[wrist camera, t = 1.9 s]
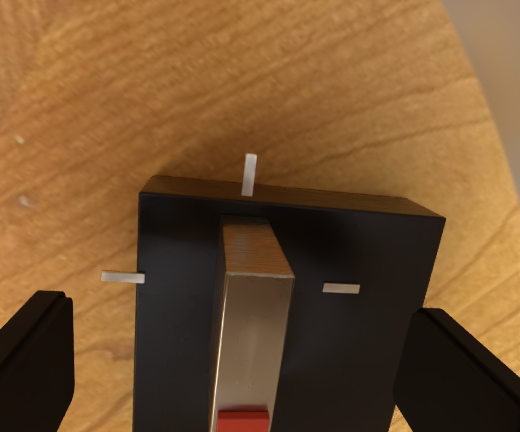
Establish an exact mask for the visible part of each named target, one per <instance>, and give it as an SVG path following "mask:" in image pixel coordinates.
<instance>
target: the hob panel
mask: <svg viewBox="0 0 520 432" xmlns="http://www.w3.org/2000/svg"><path fill="white" fill-rule="evenodd" d="M256 160H257V154H253V153H246V155H245V165H244V174H243V183H234V182H223V181H212V180H201V179H190V178H180V177H169V176H158V175H154V176H152V177H151V179H150V180H149V181H148V182H147V184H146V185H145V186H144V187H143V189H142V190H141V191H140V192H139V203H138V240H137V272H131V271H112V270H102V272H101V281H106V282H127V283H136V314H135V350H134V387H133V424H132V432H208V405H209V337H210V327H211V316H212V305H213V294H214V283H215V273H216V262H217V251H218V240H219V229H220V219H221V215H223V214H224V215H237V216H250V217H262V218H267V219H268V221H269V223H270V225H271V228H272V230H273V232H274V234H275V236H276V238H277V240H278V242H279V244H280V246H281V248H282V250H283V253H284V255H285V257H286V259H287V261H288V263H289V265H290V267H291V269H292V271H293V273H294V276H295V281H294V287H293V293H292V300H291V306H290V312H289V318H288V325H287V331H286V337H285V344H284V350H283V356H282V362H281V369H280V375H279V381H278V387H277V394H276V400H275V406H274V413H273V419H272V425H271V431H270V432H388V431H389V428H390V424H391V420H392V416H393V413H394V409H395V405H396V403H395V401H394V399H393V385H394V382H395V378H396V374H397V370H398V366H399V362H400V358H401V354H402V351H403V347H404V343H405V339H406V335H407V331H408V327H409V323H410V320H411V316H412V314H413V313H415V312H417V310H418V309H419V308H422V306H423V303H424V299H425V295H426V292H427V288H428V284H429V281H430V277H431V273H432V270H433V266H434V262H435V259H436V255H437V251H438V248H439V244H440V240H441V237H442V233H443V229H444V226H445V222H446V218H445V217H443V216H441V215H439V214H437V213H435V212H433V211H431V210H429V209H427V208H425V207H423V206H421V205H419V204H417V203H415V202H412V201H410V200H408V199H406V198H398V197H387V196H376V195H365V194H354V193H343V192H332V191H321V190H310V189H300V188H289V187H278V186H267V185H256V184H254V178H255V169H256Z"/></svg>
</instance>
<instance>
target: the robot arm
mask: <svg viewBox="0 0 520 432" xmlns="http://www.w3.org/2000/svg"><path fill="white" fill-rule="evenodd" d="M74 388H75V377H74V333H73V301H72V298H70V297H66V296H65V293H64V292H63V291H42V290H39V291H37V292H36V293H35V294H34V295H33V296H32V297H31V298H30V299H29V300H28V301H27V302H26V303H25V304H24V305H23V306H22V307H21V308H20V309H19V310H18V311H17V312H16V314H15V315H14V316H13V317H12V318H11V319H10V320H9V321H8V322H7V323H6V324H5V325H4V326H3V327H2V328H1V329H0V432H57V430H58V428H59V426H60V424H61V422H62V420H63V418H64V416H65V413H66V411H67V409H68V407H69V405H70V403H71V401H72V398H73V394H74ZM393 399H394V401H395V403H396V405H397V407H398V408H399V410H400V412H401V413H402V415H403V416H404V418H405V420H406V421H407V423H408V425H409V426H410V428H411V430H412V431H413V432H520V377H519V376H517V375H516V374H515V373H514V372H513V371H512V370H511V369H509V368H508V367H507V366H506V365H505V364H504V363H503V362H502V361H500V360H499V359H498V358H497V357H496V356H495V355H494V354H492V353H491V352H490V351H489V350H488V349H487V348H486V347H485V346H483V345H482V344H481V343H480V342H479V341H478V340H477V339H475V338H474V337H473V336H472V335H471V334H470V333H469V332H468V331H466V330H465V329H464V328H463V327H462V326H461V325H460V324H458V323H457V322H456V321H455V320H454V319H453V318H452V317H451V316H449V315H448V314H447V313H446V312H445V311H444V310H442V309H440V308H419V309H418V310H417V312H415V313H413V314H412V316H411V320H410V323H409V327H408V331H407V335H406V339H405V343H404V347H403V351H402V354H401V358H400V362H399V366H398V370H397V374H396V378H395V382H394V385H393Z"/></svg>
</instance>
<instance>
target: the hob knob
mask: <svg viewBox="0 0 520 432" xmlns="http://www.w3.org/2000/svg"><path fill="white" fill-rule="evenodd" d="M294 281H295V276H294V273H293V271H292V269H291V267H290V265H289V263H288V261H287V259H286V257H285V255H284V253H283V250H282V248H281V246H280V244H279V242H278V240H277V238H276V236H275V234H274V232H273V230H272V228H271V225H270V223H269V221H268V219H267V218H262V217H250V216H237V215H224V214H223V215H221V219H220V229H219V240H218V251H217V262H216V273H215V283H214V294H213V305H212V316H211V327H210V337H209V405H208V432H270V431H271V425H272V419H273V413H274V406H275V400H276V394H277V387H278V381H279V375H280V369H281V362H282V356H283V350H284V344H285V337H286V331H287V325H288V318H289V312H290V306H291V300H292V293H293V287H294Z"/></svg>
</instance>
